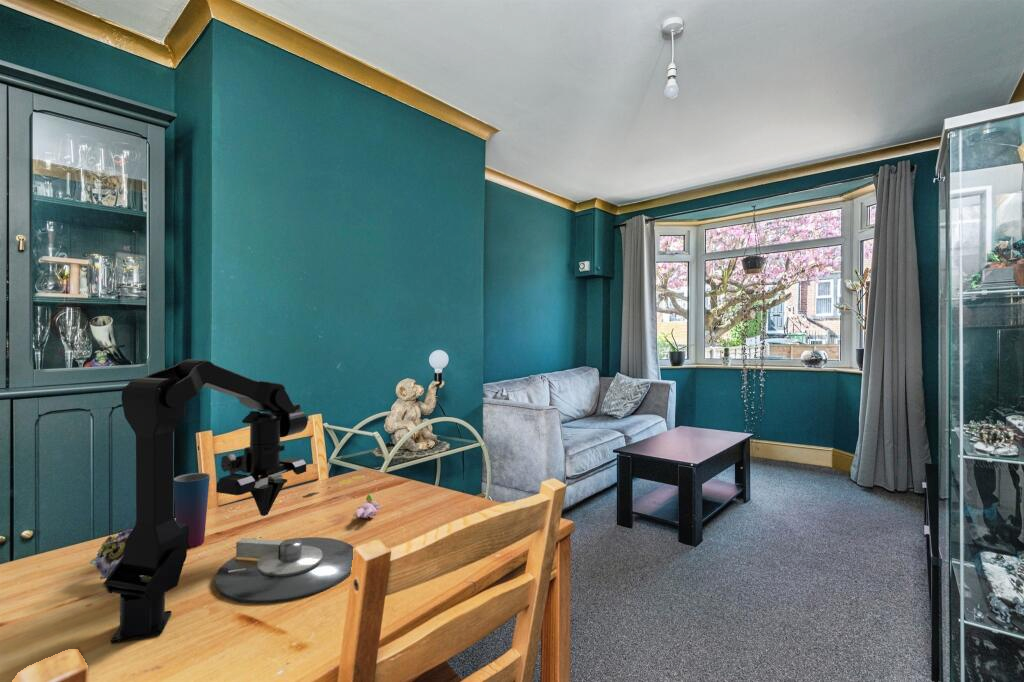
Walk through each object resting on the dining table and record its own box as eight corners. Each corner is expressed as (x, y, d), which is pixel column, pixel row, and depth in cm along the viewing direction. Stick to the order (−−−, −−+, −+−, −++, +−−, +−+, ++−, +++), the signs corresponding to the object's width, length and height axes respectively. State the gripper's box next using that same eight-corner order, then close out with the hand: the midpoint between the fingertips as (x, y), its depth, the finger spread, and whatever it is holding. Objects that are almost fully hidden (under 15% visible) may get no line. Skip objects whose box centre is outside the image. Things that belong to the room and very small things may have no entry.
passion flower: (109, 614, 91) (69, 563, 90) (160, 576, 102) (125, 530, 101) (146, 589, 88) (105, 536, 88) (195, 552, 99) (158, 504, 98)
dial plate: (363, 587, 92) (364, 581, 92) (202, 615, 82) (202, 608, 82) (352, 535, 116) (353, 530, 116) (227, 551, 106) (227, 546, 106)
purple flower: (361, 512, 135) (347, 524, 120) (362, 490, 136) (349, 499, 121) (384, 512, 135) (373, 524, 120) (385, 490, 136) (375, 498, 121)
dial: (332, 550, 104) (333, 533, 104) (303, 578, 92) (304, 558, 92) (257, 546, 106) (257, 528, 106) (219, 572, 94) (219, 552, 94)
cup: (191, 552, 105) (192, 482, 105) (164, 548, 107) (165, 480, 107) (216, 539, 112) (217, 474, 112) (190, 536, 113) (191, 471, 113)
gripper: (269, 431, 115) (269, 497, 115) (195, 447, 97) (194, 525, 97) (308, 434, 111) (307, 503, 112) (239, 452, 94) (237, 533, 94)
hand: (264, 515), depth 104 cm, fingers closed
